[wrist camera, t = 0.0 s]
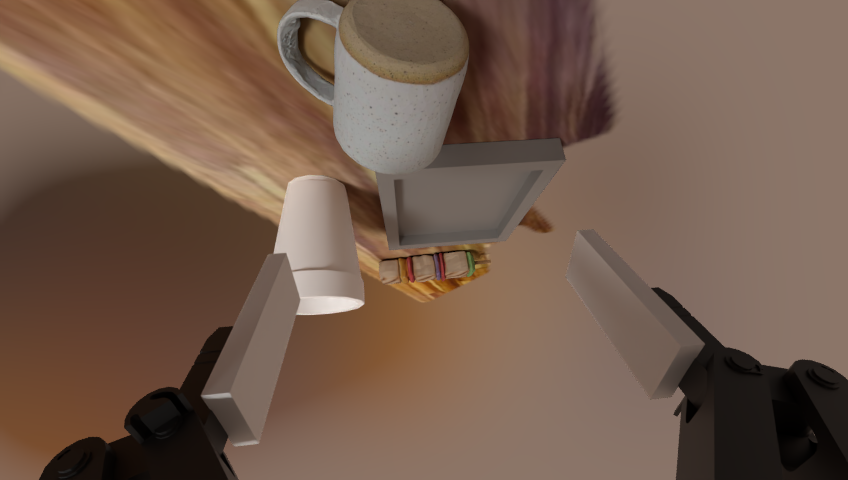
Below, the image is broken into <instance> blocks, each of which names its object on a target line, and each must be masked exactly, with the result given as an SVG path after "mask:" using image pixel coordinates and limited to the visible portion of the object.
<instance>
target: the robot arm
mask: <svg viewBox="0 0 848 480" xmlns="http://www.w3.org/2000/svg"><path fill="white" fill-rule="evenodd" d="M566 278H567V280H568V281H569V283H570V284H571V286H572V287H573V288H574V290H575V291H576V293H577V294H578V296H579V297H580V299H581V300H582V302H583V303H584V304H585V306H586V307H587V309H588V310H589V312H590V313H591V315H592V316H593V318H594V319H595V320H596V322H597V323H598V325H599V326H600V328H601V329H602V330H603V332H604V333H605V335H606V336H607V337H608V339H609V341H610V342H611V344H612V345H613V346H614V348H615V349H616V351H617V352H618V354H619V355H620V356H621V358H622V359H623V361H624V362H625V364H626V365H627V366H628V368H629V369H630V371H631V372H632V374H633V375H634V377H635V378H636V380H637V381H638V383H639V384H640V385H641V387H642V388H643V389H644V391H645V393H646V394H647V396H648V397H649V398H650V399H659V398H668V397H672V395H673V394H674V392H675V391H676V389H677V387H679V388H680V389H681V390H682V392H683V393H684V394H685V397H684V398H683V400H682V401H681V403H680V404H679V406H678V407H677V409H676V410H675V412H674V415H675V416H678V415H679V413H680V412H681V421H680V434H679V447H678V460H677V473H676V480H848V380H847V379H846V378H845V377H844V376H842V375H841V374H840V373H838V372H837V371H835V370H834V369H832V368H830V367H828V366H826V365H824V364H821V363H818V362H815V361H812V360H798V361H795V362H794V363H793V365H792V366H791V367H790V368H789V369H784V368H778V367H771V366H766V365H761V364H760V362H759V361H757V360H756V359H754V358H753V357H752V356H750V355H749V354H746V353H744V352H742V351H740V350H736V349H732V348H725V347H724V346H723V345H722V344H721V343H720V342H719V341H718V340H717V339H716V338H715V337H714V336H713V335H711V333H709V332H708V330H707V329H706V328H705V327H704V326H702V324H700V323H699V322H698V321H697V320H696V319H695V318H694V317H692V316H691V314H690V313H689V312H688V311H687V310H686V309H685V308H683V307H682V305H681V304H680V303H679V302H678V301H677V300H676V299H675V298H674V297H673V296H672V295H670V294H668V293H667V292H665V291H663V290H662V289H660V288H650V287H649V286H648V285H647V284H646V283H645V282H644V281H643V280H642V279H641V278H640V277H639V276H638V275H637V274H636V273H635V271H633V270H632V269H631V268H630V266H629V265H628V264H627V263H626V262H625V261H624V260H623V259H622V258H621V257H620V256H619V255H618V254H617V253H616V252H615V251H614V250H613V249H612V248H611V247H610V246H609V245H608V244H607V243H606V242H605V241H604V240H603V239H602V238H601V237H600V236H599V235H598V233H596V231H595V230H593V229H592V230H578V231H577V234H576V238H575V242H574V246H573V250H572V253H571V257H570V261H569V265H568V269H567V273H566ZM300 300H301V299H300V296H299V293H298V290H297V286H296V283H295V280H294V276H293V273H292V270H291V267H290V263H289V260H288V257H287V253H277V254H268V256H267V258H266V260H265V262H264V264H263V266H262V268H261V270H260V272H259V275H258V277H257V279H256V281H255V283H254V285H253V287H252V289H251V291H250V294H249V295H248V298H247V300H246V302H245V304H244V306H243V308H242V310H241V312H240V314H239V316H238V318H237V320H236V323H235V325H234V326H231V327H220V328H218V329H217V330H216V331H215V332H214V333H213V334H212V335H211V336H210V337H209V338H208V339H207V340H206V342H205V344H204V346H203V348H202V349H201V351H200V355H198V357H197V359H196V360H195V362H194V365H193V366H192V368H191V370H190V371H189V373H188V375H187V377H186V379H185V381H184V382H183V384H182V386H181V388H180V390H179V389H178V388H173V387H166V388H161V389H158V390H156V391H153V392H151V393H149V394H147V395H146V396H144V397H143V398H142V399H140V400H139V401H138V402H137V403H136V404H135V405H134V406H133V407H132V408H131V409H130V411H129V413H128V415H127V416H126V418H125V425H124V428H125V429H126V430H127V431H128V432H129V433H130V434H131V435H130V436H127V437H124V438H121V439H119V440H116V441H114V442H111V443H109V444H107V443H106V442H105V441H104V440H102V439H101V438H100V437H88V438H85V439H82V440H79V441H77V442H75V443H73V444H71V445H70V446H68V447H66V448H65V449H64V450H62V451H61V452H60V453H59V454H57V455H56V456H55V457H54V458H53V459H52V460H51V461H50V463H49V464H48V465H47V466H46V467H45V469H44V471H43V473H42V475H41V477H40V479H39V480H238V478H237V476H236V474H235V472H234V470H233V468H232V466H231V464H230V462H229V460H228V458H227V456H226V454H225V453H224V451H223V449H224V446H225V444H226V441H227V438H229V439H230V441H231V443H232V444H233V446H241V445H250V444H258V443H259V441H260V438H261V434H262V431H263V427H264V424H265V420H266V417H267V413H268V410H269V406H270V403H271V400H272V396H273V393H274V389H275V386H276V382H277V379H278V376H279V371H280V369H281V365H282V362H283V358H284V355H285V351H286V348H287V344H288V341H289V338H290V334H291V331H292V327H293V324H294V320H295V317H296V314H297V310H298V307H299V303H300ZM814 434H815V435H814Z"/></svg>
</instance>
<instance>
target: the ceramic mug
mask: <svg viewBox="0 0 848 480" xmlns="http://www.w3.org/2000/svg"><path fill="white" fill-rule="evenodd" d="M305 17H308V18H312V19H316V20H321V21H322V22H324V23H327V24H330V25H332V26H334V27H335V28H336V29H337V33H336V37H335V49H334V59H335V85H333V84H331V83H330V82H328V81H326V80H325V79H323V78H322V77H321V76H320V75H319V74H317V73H316V72H315V71H314V70H313V69H312V68H311V67H310V66H309V65H308V64H307V62H306V61H305V60H304V59H303V57H302V55H301V53H300V51H299V49H298V28H299V27H300V24H301V23H300V19H299V18H305ZM277 41H278V48H279V53H280V55H281V58H282V60H283V62H284V64H285V66H286V67H287V69H288V70H289V72H290V73H291V74H292V76H293V77H294V78H295V79H296V80H297V81H298V82H299V83H300V84H301V85H302V86H303V87H304V88H305V89H306V90H308V91H309V92H310V93H312V94H313V95H314V96H315V97H317V98H318V99H320V100H322V101H324V102H326V103H327V104H329V105H331V106H333V108H334V115H333V125H334V131H335V135H336V138H337V140H338V142H339V143H340V145H341V147H342V148H343V150H344V151H345V152H346V153H347V154H348V155H349V156H350V157H351V158H352V159H354V160H355V161H356V162H357V163H359V164H360V165H362V166H364V167H366V168H368V169H370V170H372V171H376V172H379V173H383V174H390V175H404V174H410V173H414V172H417V171H419V170H422V169H424V168H425V167H427V166H428V165H430V164H431V163H432V162H433V161H434V160H435V158H436V157H437V156H438V154H439V152H440V150H441V148H442V145H443V141H444V138H445V135H446V132H447V129H448V126H449V123H450V120H451V117H452V114H453V111H454V108H455V105H456V101H457V98H458V95H459V93H460V90H461V87H462V84H463V81H464V78H465V74H466V71H467V65H468V59H469V40H468V36H467V32H466V30H465V28H464V26H463V24H462V23H461V21H460V20H459V18H458V17H457V16H456V15H455V14H454V13H453V11H452V10H451V9H450V8H448V7H447V6H446V5H445V4H443V3H442V2H441V1H440V0H350V1H349V3H348V4H347V5H346V6H345V8H344V7H341V6H339V5H338V4H336V3H334V2H331V1H329V0H299V1H297V2H296V3H295V4H293V5H292V6H291V8H290V9H289V10H288V11H287V13H286V14H285V15H284V16H283V17H282V19H281V21H280V22H279V27H278V30H277Z"/></svg>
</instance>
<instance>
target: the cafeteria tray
mask: <svg viewBox="0 0 848 480" xmlns="http://www.w3.org/2000/svg"><path fill="white" fill-rule="evenodd" d="M565 160H566V159H565V155H564V152H563V148H562V144H561V141H560V138H552V139H535V140H518V141H501V142H483V143H466V144H449V145H442V148H441V150H440V152H439V154H438V156H437V157H436V158H435V160H434V161H433V162H432V163H431V164H430V165H428V166H427V167H425V168H424V169H422V170H419V171H417V172H414V173H410V174H404V175H390V174H383V173H379V172H376V171H375V172H376V178H377V184H378V189H379V195H380V201H381V206H382V212H383V218H384V223H385V229H386V234H387V240H388V246H389V250H397V249H410V248H423V247H436V246H449V245H461V244H474V243H487V242H500V241H506V240H507V239H508V237H509V236H510V234H511V233H512V232H513V230H514V229H515V228H516V227H517V225H518V224H519V222H520V221H521V220H522V218H523V217H524V216H525V214H526V213H527V212H528V210H529V209H530V208H531V206H532V205H533V204H534V202H535V201H536V199H537V198H538V197H539V195H540V194H541V193H542V191H543V190H544V189H545V187H546V186H547V185H548V183H549V182H550V181H551V179H552V178H553V177H554V175H555V174H556V173H557V171H558V170H559V168H560V167H561V166H562V164H563V163H564V162H565Z"/></svg>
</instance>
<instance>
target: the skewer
mask: <svg viewBox="0 0 848 480" xmlns="http://www.w3.org/2000/svg"><path fill="white" fill-rule="evenodd" d="M486 263H491V260H483V261H474V258H473V256H472V254H471V253H470V252H467V253H466V252H465V251H462V252H452V253H444V255H443V256H442V253H439V255H437V254H434V257H433V256H428V255H422V256H420V257H413V258H411V257H407V260H406V259H402V258H399V261H398V260H397V259H396V260H386V261H381V262H379V275H380V279H381V281H382V283H383V284H394V283H401V281H402V283H408V282H409V280H410V281H411V282H412V283H413V282H414V281H415V280H416V281H417V282H424V281H428V280H434V279H436V278H437V280H440V278H441V279H442V281H445V278H446V279H448V278H461V277H466V275H467V277H469V276H471V275H472V274H473V272H474V271H475V265H476V264H486Z"/></svg>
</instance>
